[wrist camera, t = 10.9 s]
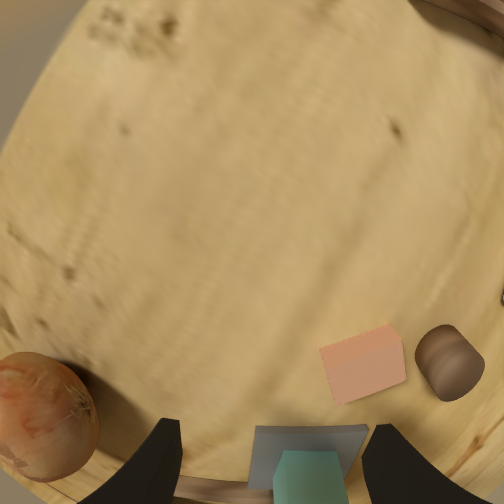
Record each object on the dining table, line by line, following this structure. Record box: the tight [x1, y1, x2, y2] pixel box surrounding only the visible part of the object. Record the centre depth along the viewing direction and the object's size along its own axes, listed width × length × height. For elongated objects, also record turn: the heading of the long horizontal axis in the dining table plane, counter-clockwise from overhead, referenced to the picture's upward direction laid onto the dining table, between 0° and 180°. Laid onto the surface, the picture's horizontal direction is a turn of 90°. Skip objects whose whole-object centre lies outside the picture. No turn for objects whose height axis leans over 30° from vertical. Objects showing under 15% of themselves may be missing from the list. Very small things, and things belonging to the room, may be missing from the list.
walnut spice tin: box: [415, 325, 485, 402], centre depth 18 cm, size 4×4×4 cm
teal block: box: [273, 450, 349, 504], centre depth 20 cm, size 4×4×6 cm
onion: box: [0, 352, 99, 483], centre depth 17 cm, size 10×10×10 cm
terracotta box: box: [319, 324, 406, 406], centre depth 19 cm, size 5×4×2 cm
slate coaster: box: [248, 424, 368, 489], centre depth 23 cm, size 9×9×1 cm
